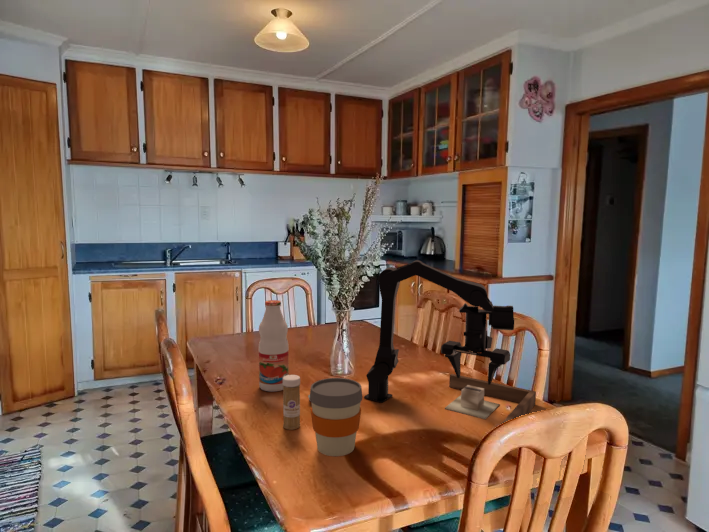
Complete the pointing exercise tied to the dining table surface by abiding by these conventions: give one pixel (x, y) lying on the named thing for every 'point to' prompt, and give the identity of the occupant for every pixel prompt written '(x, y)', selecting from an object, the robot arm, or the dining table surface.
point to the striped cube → (472, 397)
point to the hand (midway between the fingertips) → (473, 381)
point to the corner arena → (494, 390)
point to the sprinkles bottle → (291, 402)
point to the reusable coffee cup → (335, 414)
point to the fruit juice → (273, 348)
